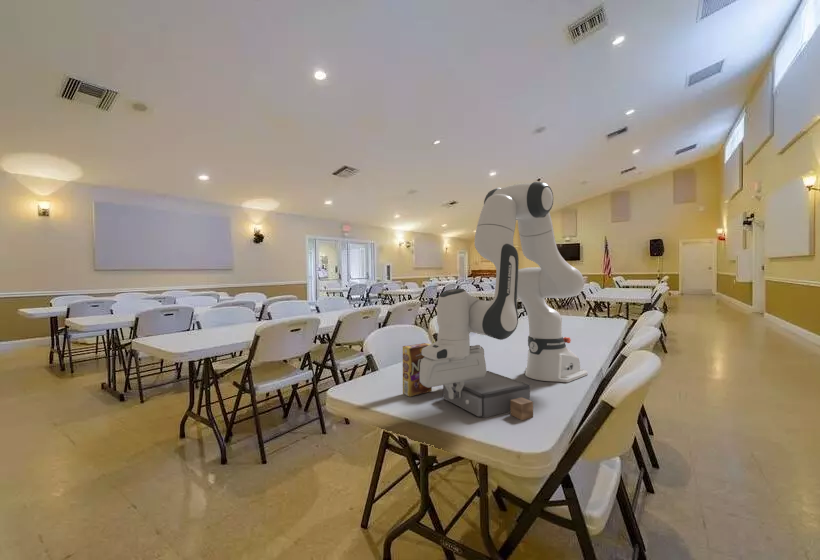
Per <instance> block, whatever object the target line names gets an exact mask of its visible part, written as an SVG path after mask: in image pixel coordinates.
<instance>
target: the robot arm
mask: <svg viewBox="0 0 820 560" xmlns="http://www.w3.org/2000/svg"><path fill="white" fill-rule="evenodd" d="M553 205H554V193H553V190H552V188H551V187H550V186H549V185H548V184H547V183H545V182H542V181H533V182H524V183H522V182H520V183H515V184H511V185H507V186H504V187H496V188H493V189H492V190H490V191H488V192H487V194H486V195H485V197H484V199H483V206H482V209H481V211H480V214H479V218H478V221H477V225H476V229H475V234H474V247H475V249H476V252H477V253H478V254H479V255H480V256H481V257H482V258H483V259H485V260H487V261H489V262H491V264H493V265H494V267H495V269H496V272H495V274H496V275H495V289H494V298H492V300H484V299H480V298H477V297H474V296H473V295H470V294H469V293H468V292H467V291H466V289H464V288H453V289H447V290H445V291H443V292H441V293H440V295H439V297H438V299H437V306H436V308H437V309H436V323H437V326H438V327H437V328H438V333H437V340H436V341H435V342H433V343H430V344H431V345H429V346H427V347H425V348H423V349H422V355H423V356H424V358H423V359H422V360H421V363H420V382H421V384H422V385H423V386H425V387H427V388H430V387H432V388H434V387H440V386H443V385H445V387H446V389H447V391H448V394H449V398H450V399H455V398H460V397H461V390H462V388H463V386H464V381H468V380H473V379H478V378H484V377H485V375H486V371H487V365H486V364H487V363H486V359H485V357H486V356H485V349H484V348H483V347H482V346H481V345H480V344H476V345H470V344H471V342H470V341H471V339H470V334H471V333H474V334H477V335H481V336H482V335H483V336H487V337H489V338H493V339H496V340H498V341H499V340H500V341H501V340H502V341H503V340H505V339H508V338H509V337H510V336H512V334H513V333H514V332H515V331H516V329H517V327H518V324H519V314H518V313H519V312H518V303H517V302H518V299H519V300H520V302H521V303H522V304H523V306H524V309H525V310H526V315H527V319H528V336H527V346H528V351H527V360H526V361H527V362H526V367H525V373H524V374H525V375H524V376H525V377H527V378H529V379H533V380H537V381H542V382H543V381H544V382H561V383H570V382H572V381H575V380H577V379H580V378H582V377H585V376H588V375H587V374H588V373H589V372H588V371H587V370H586V369H585V370H584V369H582V368H581V362H580V358H579V357H578V355H576V354H575V353H574V352H573V351H571V350H570V349H569V348H568V347H567V344H570V343H571V342H572V339H571V338H570V337H566V336H564V337H563V323H562V322H563V321H562V319H563V318H562V316H561V313H559V311H557V310H556V309H554V308H552V307H551V306H550V305H548V304H547V302H546V299H567V298H574V297H577V296H579V295H580V293H581V292H582V290H583V289H584V284H585V281H584V276H583V274H582V272H581V271H580V270H579V269H578V268H576V267H574V266H572V265H571V264H570V263H568V261H566V260H565V258H564V257H563V256H562V255H561V253H560V251H559V249H558V246H557V243H556V238H555V232H554V226H553V220H552V216H551V213H550V211H551V210H552V209H553V208H552V207H553ZM516 223H517V226H518V227H517V228H518V234H519V235H518V236H519V240H520V246H521V251H522V252H521V253H522V254H523V256H524V257H525V258H526V259H527V260H529V261H531V262H534V263H535V264H536V265H537V266H538V267H536V266H535V267H533V266H532V267H524V268H519V264H520V263H519V262H520V261H519V253H518V250H517V249H516V247H515V245H514V235H515V230H516ZM566 343H567V344H566ZM453 383H456V384H457V386H456V389H455V390H454V391H453V390H452V388H451V387H453Z"/></svg>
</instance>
